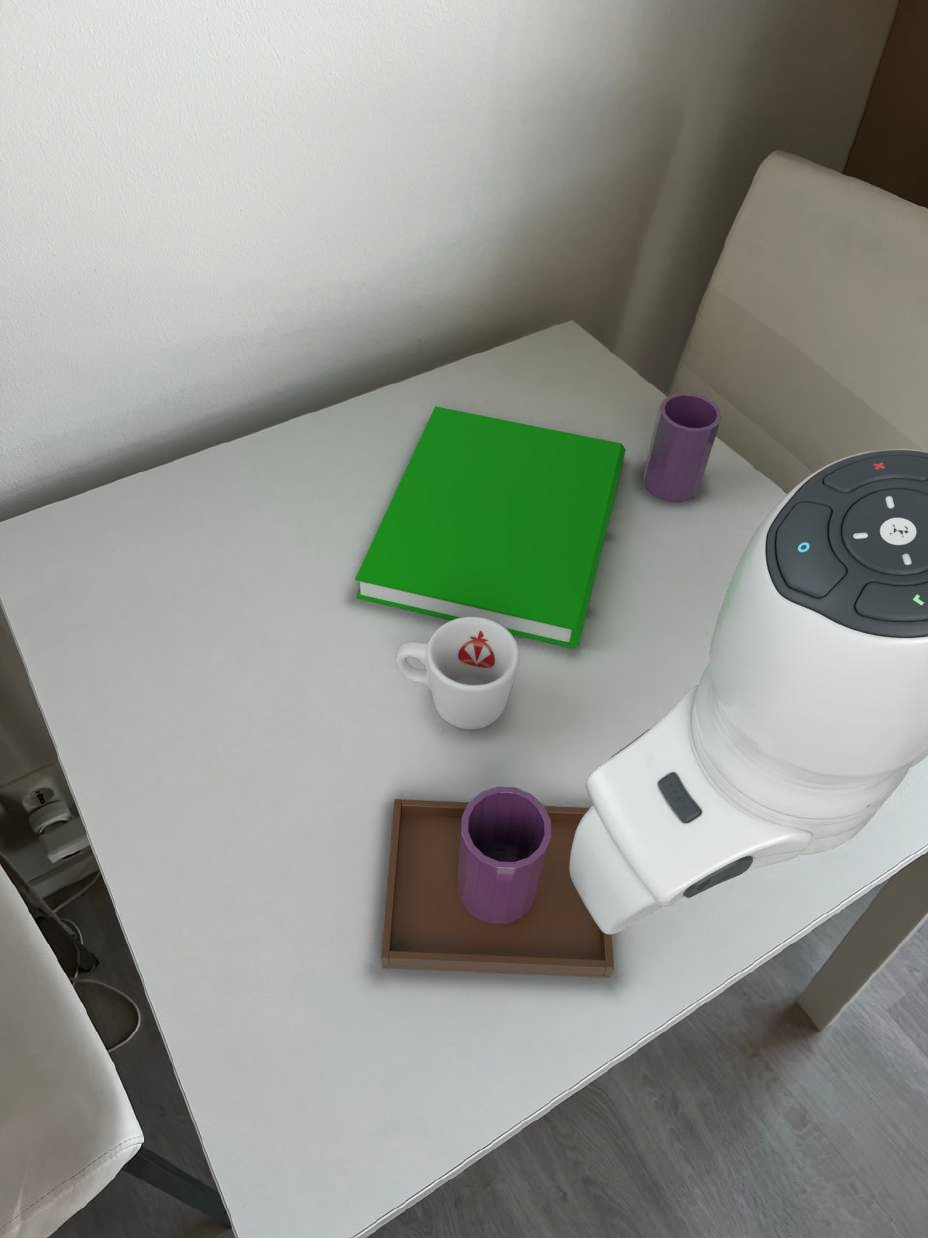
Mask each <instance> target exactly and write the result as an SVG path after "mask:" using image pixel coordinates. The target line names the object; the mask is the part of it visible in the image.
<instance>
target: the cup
mask: <svg viewBox="0 0 928 1238" xmlns="http://www.w3.org/2000/svg"><path fill="white" fill-rule="evenodd" d="M520 654H521V653H520V648H519V644H518V642H517V640H516V639H515V637H514V635H513V634H511V633H510V632H509V631H508V630H507V629H506V628H504V627H503V626H502V625H500V624H498V623H496V622H494V621H492V620H489V619H486V618H481V617H463V618H458V619H454V620H449V621H447V622H445V623H444V624H442V625H440V626H439V627H438V628H437V629H436V630H435V631H434V633H433V634H431V637H430V638H429V641H428V642H426V643H425V642H418V641H411V642H410V641H409V642H406V643H404V644H402V645H401V646H400V648H398V651H397V655H396V659H395V662H396V667H397V670H398V672H399V674H400V675H401V676H402V677H403V678H404V679H406V680H408V681H410V682H412V683H416V684H421V685H424V686H428V687H429V688H430V691H431V696H432V701H433V705H434V707H435V709H436V712H437V713H438V715H439V716H440V717H441V719H443V720H444V721H445V722H447V723H448V724H449V725H451V726H453V727H455V728H458V729H461V730H471V731H472V730H479V729H483V728H486V727H488V726H489V725H491V724H493V723H495V721H496V720H498V719H499V717H500V716H501V715H502V714H503V712H504V710H505V708H506V706H507V703H508V700H509V696H510V694H511V691H512V688H513V685H514V680H515V678H516V674H517V671H518V668H519V666H520V658H521V657H520ZM408 658H413V659H418V660H419V661H420V662H421V663H423V665H424V667H425V668H424V669H419V668H416V667H414V666H412V665H411V664H410V663H409V661H408Z"/></svg>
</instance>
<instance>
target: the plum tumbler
mask: <svg viewBox="0 0 928 1238" xmlns="http://www.w3.org/2000/svg"><path fill="white" fill-rule="evenodd" d="M468 802H469V803H468V805H467V807H466V809H465V811H464V813H463V815H462V821H461V834H460V846H459V859H458V871H457V892H458V896H459V899H460V901H461V903H462V904H463V906H464V908H465V909H466V910H467V911H468V912H469V913H470V914H471V915H472V916H474V917H475V918H477V919H479V920H480V921H483V922H486V923H489V924H496V925H500V924H508V923H512V922H514V921H517V920H518V919H520V918H522V917H523V916H524V915H525V914H527V912H528V911H529V910H530V909H531V907H532V906H533V904H534V902H535V899H536V896H537V893H538V890H539V886H540V882H541V878H542V874H543V869H544V865H545V861H546V857H547V853H548V849H549V844H550V840H551V820H550V818H549V816H548V813H547V811H546V809H545V807H544V806H545V805H544V804H543V803H542V802H540V801H539V799H537V797H535V796H534V795H533V794H532V793H531V792H528V791H526V790H522V789H520V788H518V787H515V786H514V787H513V786H495V787H492V788H489V789H486V790H483V791H481V792H480V793H478V794H477V795H476V796H475V797H473V798H472V799H471V800H470V801H468Z"/></svg>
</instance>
